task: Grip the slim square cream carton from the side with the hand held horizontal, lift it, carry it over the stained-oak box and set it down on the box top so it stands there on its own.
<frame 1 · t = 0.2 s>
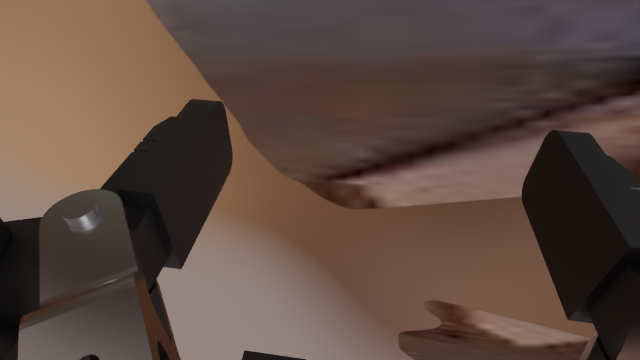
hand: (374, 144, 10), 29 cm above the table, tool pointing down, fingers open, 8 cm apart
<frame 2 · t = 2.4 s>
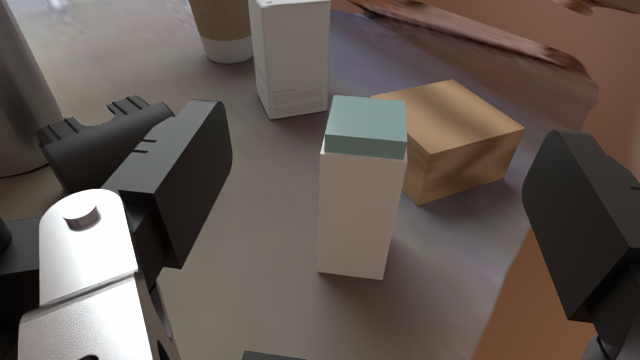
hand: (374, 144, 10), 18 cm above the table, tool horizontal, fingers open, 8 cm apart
cream carton: (352, 250, 30), on the table
oak box: (429, 162, 39), on the table
coffee cup: (231, 55, 58), on the table
end cap: (130, 183, 36), on the table
supplement box: (291, 102, 48), on the table
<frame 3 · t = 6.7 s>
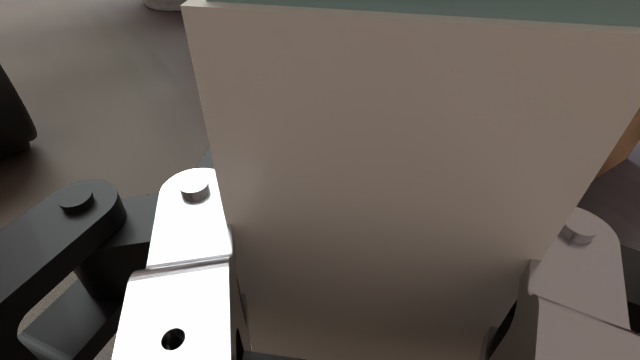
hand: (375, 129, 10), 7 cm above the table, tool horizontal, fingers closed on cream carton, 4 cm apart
cream carton: (352, 337, 13), on the table, touching gripper
oak box: (489, 144, 22), on the table
coffee cup: (179, 2, 41), on the table
when the fingers open (13 cm above the table, at t = 11.3 s): cream carton stays where it is, resting on oak box.
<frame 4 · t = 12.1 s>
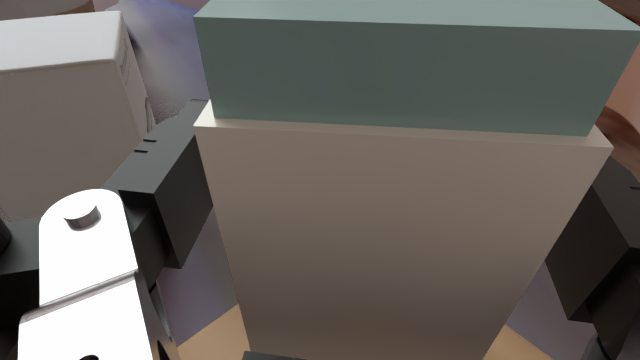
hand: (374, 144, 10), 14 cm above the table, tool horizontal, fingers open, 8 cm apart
cream carton: (350, 358, 13), point 6 cm above the table, touching oak box
coffee cup: (75, 115, 37), on the table
supplement box: (122, 226, 26), on the table
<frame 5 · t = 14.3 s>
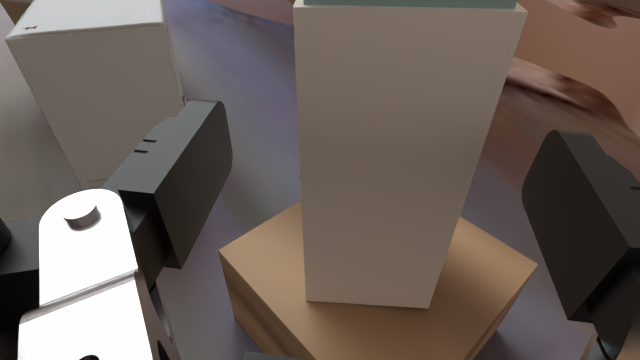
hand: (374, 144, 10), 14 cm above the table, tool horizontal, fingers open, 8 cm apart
cream carton: (365, 256, 17), point 6 cm above the table
oak box: (364, 326, 21), on the table
coffee cup: (103, 91, 40), on the table
supplement box: (154, 181, 29), on the table
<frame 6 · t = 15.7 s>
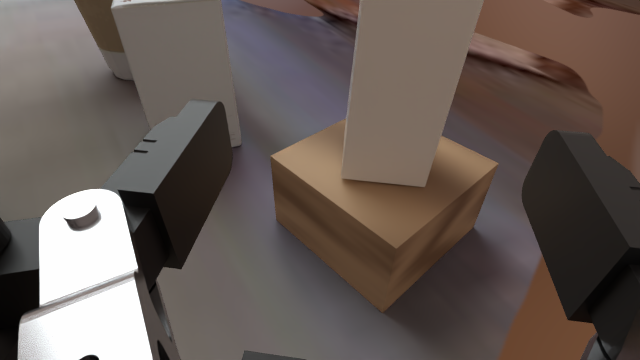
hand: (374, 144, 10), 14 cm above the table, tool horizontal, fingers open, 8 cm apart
cream carton: (381, 157, 23), point 6 cm above the table, touching oak box
oak box: (373, 225, 27), on the table, touching cream carton
coffee cup: (145, 69, 47), on the table
supplement box: (198, 134, 36), on the table
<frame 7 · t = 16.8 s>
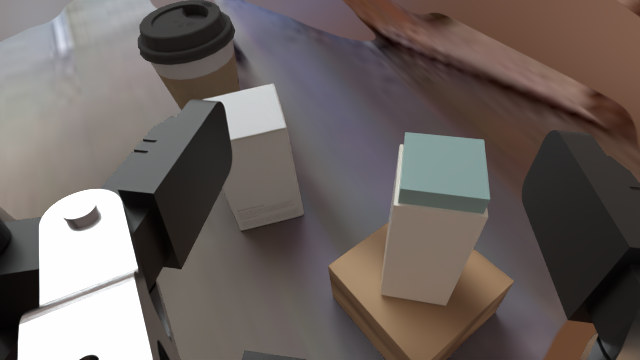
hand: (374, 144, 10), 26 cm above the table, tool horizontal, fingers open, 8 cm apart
cream carton: (413, 271, 30), point 6 cm above the table, touching oak box
oak box: (411, 305, 34), on the table, touching cream carton
coffee cup: (218, 121, 54), on the table
supplement box: (268, 200, 44), on the table
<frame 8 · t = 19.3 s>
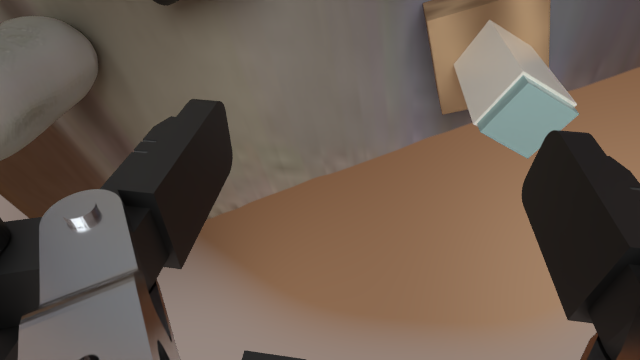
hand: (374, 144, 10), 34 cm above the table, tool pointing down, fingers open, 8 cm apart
cream carton: (491, 55, 36), point 6 cm above the table, touching oak box
glass bottle: (74, 45, 48), on the table
oak box: (478, 35, 40), on the table, touching cream carton
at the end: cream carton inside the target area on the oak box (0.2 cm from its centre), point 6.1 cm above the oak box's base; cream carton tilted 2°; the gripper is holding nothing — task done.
